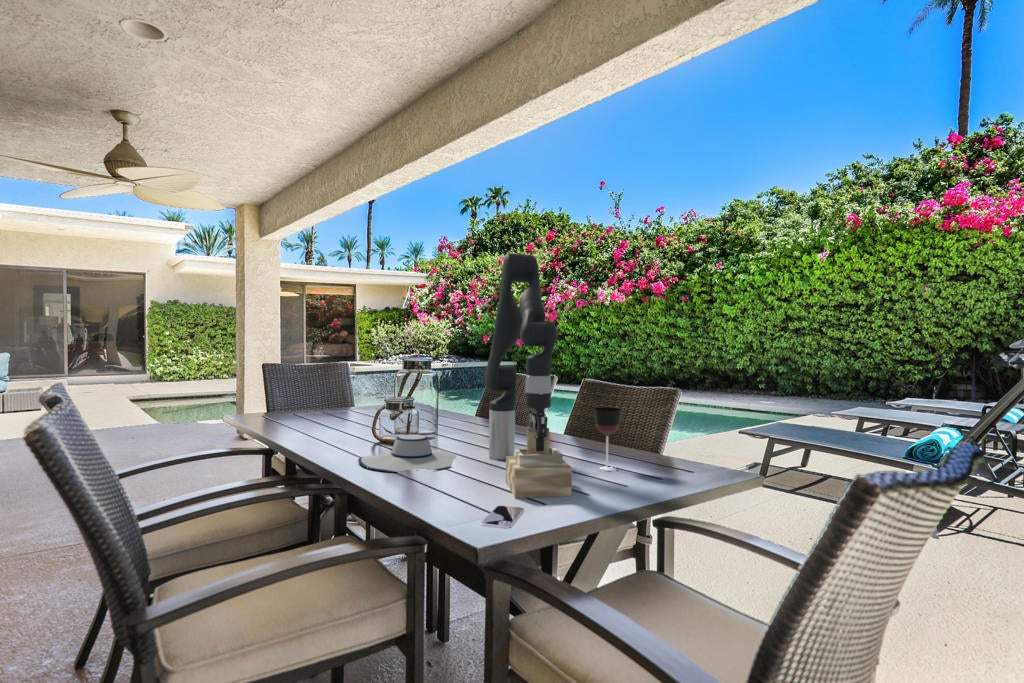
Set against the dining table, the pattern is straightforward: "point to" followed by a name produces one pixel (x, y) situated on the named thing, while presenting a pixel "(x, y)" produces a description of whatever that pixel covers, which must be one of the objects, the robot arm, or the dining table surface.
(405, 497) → the dining table surface
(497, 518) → the mobile phone
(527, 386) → the robot arm
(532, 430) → the lighter
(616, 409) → the wineglass
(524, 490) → the holder stand
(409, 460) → the sun hat
